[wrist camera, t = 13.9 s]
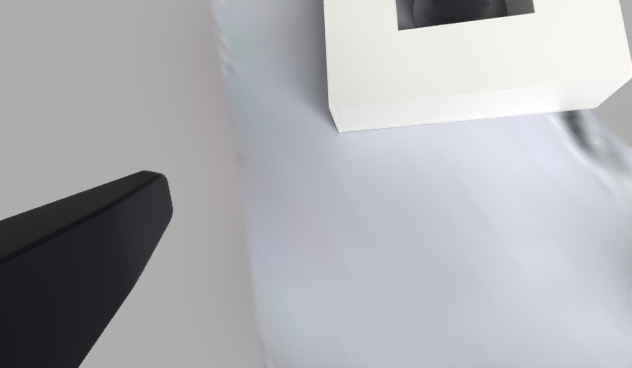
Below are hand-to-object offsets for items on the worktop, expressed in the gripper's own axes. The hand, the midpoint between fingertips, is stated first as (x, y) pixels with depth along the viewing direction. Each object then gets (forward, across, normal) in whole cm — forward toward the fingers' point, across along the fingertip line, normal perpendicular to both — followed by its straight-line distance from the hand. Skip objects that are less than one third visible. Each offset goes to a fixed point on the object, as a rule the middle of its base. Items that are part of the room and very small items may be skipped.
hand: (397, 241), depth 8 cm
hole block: (+19, 0, 0) cm, 19 cm away
